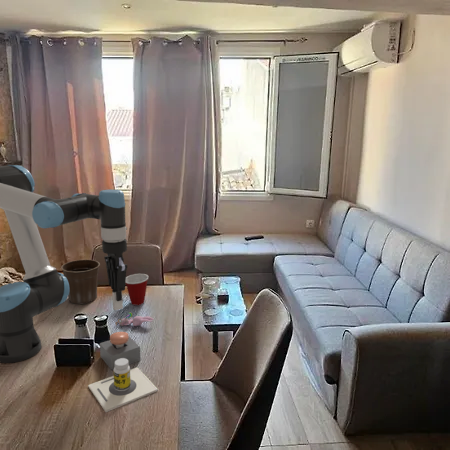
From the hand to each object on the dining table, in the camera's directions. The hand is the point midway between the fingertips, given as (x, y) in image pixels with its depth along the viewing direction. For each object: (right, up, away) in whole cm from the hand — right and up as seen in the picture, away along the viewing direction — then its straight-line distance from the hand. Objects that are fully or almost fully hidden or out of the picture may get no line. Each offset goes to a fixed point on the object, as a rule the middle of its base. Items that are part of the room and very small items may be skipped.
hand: (118, 308), depth 133 cm
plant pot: (-29, -6, +51) cm, 59 cm away
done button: (0, -15, +4) cm, 15 cm away
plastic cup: (-4, -7, +48) cm, 49 cm away
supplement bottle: (+4, -21, -12) cm, 25 cm away
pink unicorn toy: (-1, -13, +27) cm, 30 cm away
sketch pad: (+4, -22, -12) cm, 25 cm away
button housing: (0, -18, +4) cm, 18 cm away
